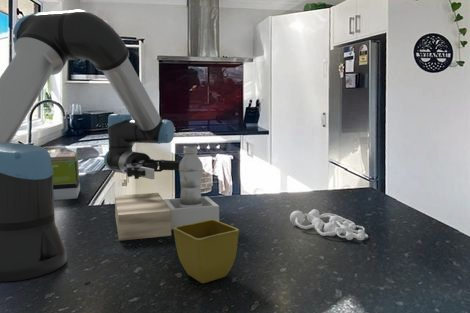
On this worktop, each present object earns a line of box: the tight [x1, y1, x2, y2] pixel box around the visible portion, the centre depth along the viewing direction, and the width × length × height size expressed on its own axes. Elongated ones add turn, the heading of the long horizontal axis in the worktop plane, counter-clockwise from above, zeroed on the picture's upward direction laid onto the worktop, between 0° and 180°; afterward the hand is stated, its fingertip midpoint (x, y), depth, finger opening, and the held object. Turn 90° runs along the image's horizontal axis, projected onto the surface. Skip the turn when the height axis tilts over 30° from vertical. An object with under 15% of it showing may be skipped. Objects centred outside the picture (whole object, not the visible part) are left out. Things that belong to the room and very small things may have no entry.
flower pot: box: [172, 219, 240, 284], centre depth 73 cm, size 9×9×9 cm
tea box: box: [49, 151, 81, 201], centre depth 143 cm, size 15×10×15 cm, turn 17°
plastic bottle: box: [178, 145, 204, 208], centre depth 110 cm, size 6×7×20 cm
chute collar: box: [163, 195, 220, 231], centre depth 110 cm, size 12×12×5 cm
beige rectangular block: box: [114, 192, 172, 242], centre depth 106 cm, size 22×12×6 cm, turn 18°
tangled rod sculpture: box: [289, 208, 369, 241], centre depth 101 cm, size 19×14×4 cm
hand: (174, 171), depth 114 cm, fingers open, 13 cm apart
